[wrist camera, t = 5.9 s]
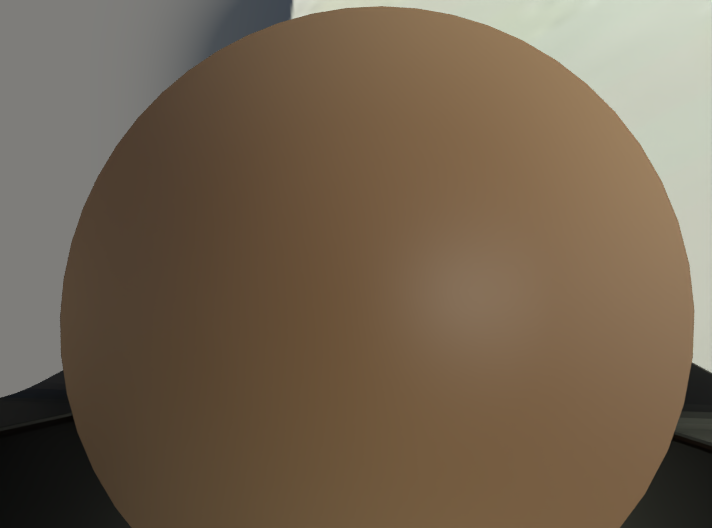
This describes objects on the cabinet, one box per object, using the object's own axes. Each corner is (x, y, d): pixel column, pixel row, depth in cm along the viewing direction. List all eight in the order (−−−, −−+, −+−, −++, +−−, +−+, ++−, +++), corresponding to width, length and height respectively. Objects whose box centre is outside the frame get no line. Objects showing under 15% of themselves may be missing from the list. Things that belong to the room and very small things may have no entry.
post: (423, 402, 15) (574, 820, 2) (316, 355, 16) (-45, 441, 3) (463, 292, 15) (766, 89, 3) (358, 253, 16) (215, -42, 4)
